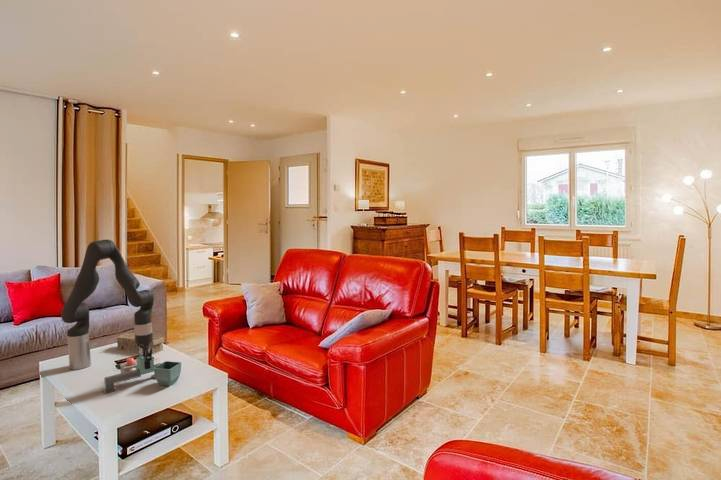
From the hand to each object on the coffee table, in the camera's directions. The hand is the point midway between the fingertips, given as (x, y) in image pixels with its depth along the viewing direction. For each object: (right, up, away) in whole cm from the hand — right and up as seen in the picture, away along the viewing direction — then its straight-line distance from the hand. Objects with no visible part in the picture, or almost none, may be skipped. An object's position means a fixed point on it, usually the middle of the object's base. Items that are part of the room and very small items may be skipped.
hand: (145, 366), depth 197 cm
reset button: (-10, -2, +5) cm, 11 cm away
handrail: (-3, -7, -3) cm, 8 cm away
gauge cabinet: (-10, -6, +5) cm, 13 cm away
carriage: (0, -2, 0) cm, 2 cm away
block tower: (-25, -4, +43) cm, 50 cm away
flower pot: (+13, -7, -4) cm, 15 cm away
